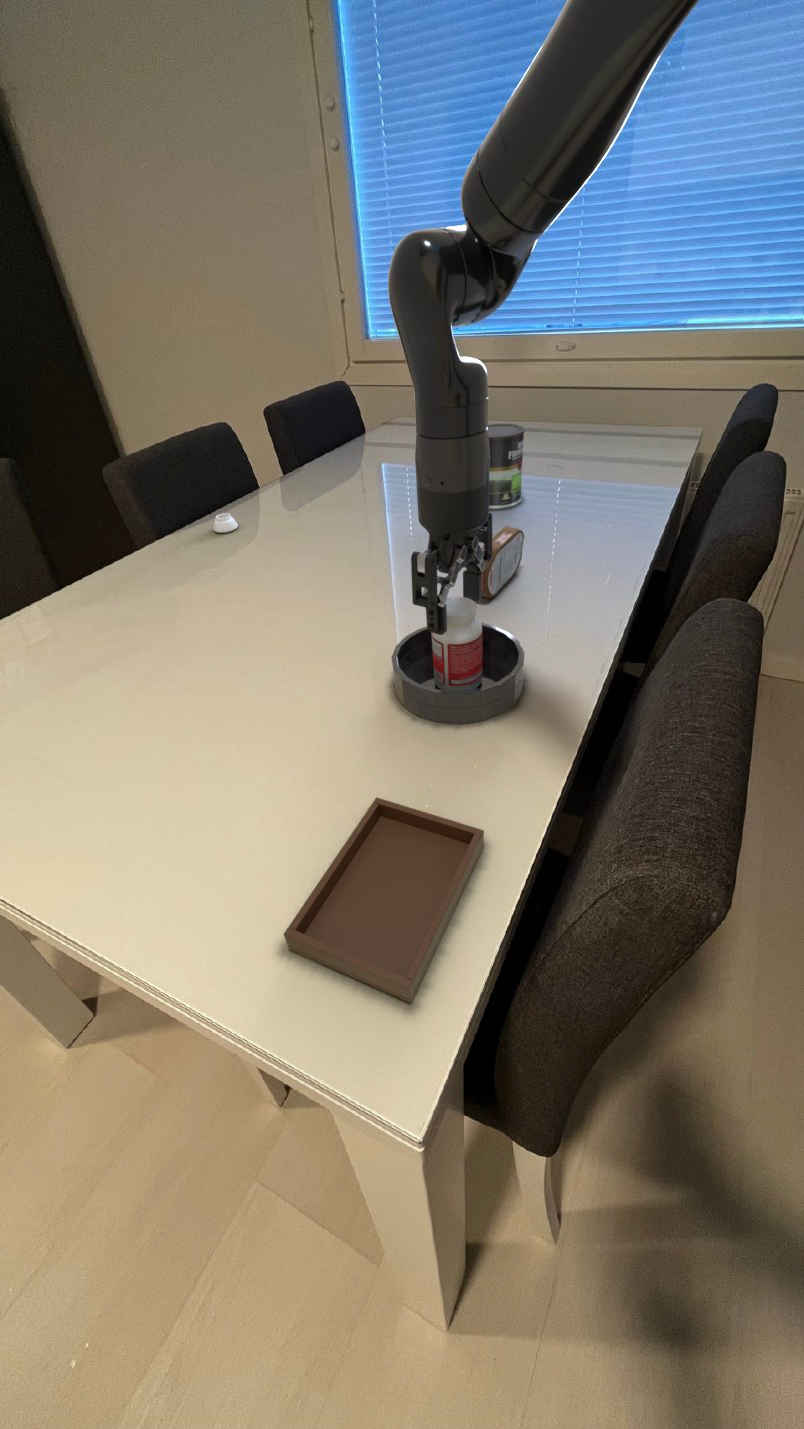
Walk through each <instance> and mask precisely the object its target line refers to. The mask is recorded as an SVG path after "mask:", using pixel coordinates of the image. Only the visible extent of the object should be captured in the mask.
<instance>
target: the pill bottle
mask: <svg viewBox="0 0 804 1429" xmlns="http://www.w3.org/2000/svg"><path fill="white" fill-rule="evenodd" d="M445 604H446V615H447V631H446V632H445V633H444V634H443V635H439V634H435V633H432V632H431V635H432V650H433V666H434V679H435V683H436V685H437V687H438V688H440V689H441V690H453V691H462V690H470V689H476V688H477V687H478V686H479V685H480V683H481V681H482V625H481V623H482V622H481V621H480V619H479V618H477V603H476V602H474V601H473V600H471V599H469V598H466V597H463V596H452V597H447V599H446V603H445Z"/></svg>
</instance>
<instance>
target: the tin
mask: <svg viewBox="0 0 804 1429" xmlns="http://www.w3.org/2000/svg"><path fill="white" fill-rule="evenodd" d="M524 540H525V534H524V532H523V530H522V529H520V528H516V527H512V526H509V525H505V526H503V527H502V528H501V529H500V530H499V531H498V532H496V534H494V535H492V559H491V560H490V561H486V562H485V564H486V566H485V570H484V571H483V572H482V597H486V598H493V597H495V596H496V595H497V594H499V592H500V591H501V590H502V589H503V588H504V587H505V585H507V584H508V583H509V581H510V580H511V579H512V578H513V577H515V575H516V573H517V571H518V569H519V567H520V563H521V562H522V557H523V547H524ZM481 549H482V550H484V544H483V545H482V547H481Z"/></svg>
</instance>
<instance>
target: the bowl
mask: <svg viewBox="0 0 804 1429" xmlns="http://www.w3.org/2000/svg"><path fill="white" fill-rule="evenodd" d="M481 625H482V681H481V683H480V685H479V686H478V687H477V688H476V689H470V690H462V691H453V690H441V689H440V688H438V687H437V685H436V683H435V679H434V666H433V650H432V635H431V632H430V631H429V630H428V628H427V626H424V627H421V628H418V629H416V630H414V631H412V632H411V633H409V634H407V635H406V636H404V637H403V638H402V639H401V640H400V641H399V642H398V643H397V644H396V645H395V648H394V650H393V652H392V655H391V665H392V673H393V684H394V692H395V696H396V697H397V698H398V701H399V702H400V704H401V705H402V706H403V707H404V708H405V709H406V710H408V711H409V713H412V714H414V715H415V716H417V717H419V718H422V719H424V720H426V721H427V720H428V721H430V722H435V723H441V724H449V725H450V724H451V725H461V724H473V723H478V722H483V721H486V720H489V719H493V718H494V717H497V716H500V715H501V714H503V713H504V712H506V711H507V710H509V709H510V708H511V707H512V706H513V705H514V704H516V702H517V701H518V700H519V698H520V696H521V694H522V692H523V687H524V686H523V684H524V673H525V672H524V670H525V669H524V668H525V656H526V655H525V651H524V648H523V646H522V644H521V642H520V640H519V639H517V638H516V637H515V636H513V635H512V634H511V633H510V632H509V631H507V630H504V629H503V628H500V627H497V626H496V625H493V624H488V623H483V622H481Z"/></svg>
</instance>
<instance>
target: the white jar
mask: <svg viewBox="0 0 804 1429" xmlns="http://www.w3.org/2000/svg"><path fill="white" fill-rule="evenodd" d="M214 517H215V518H214V522H213V526H212V529H213V531H214V532H216V533H218V534H219V533H221V534H223V533H230V532H232V531H234V530H236V529H237V528H238V526H239V524H238V522H237V521H236V520H235V519H234V517H232V516H231V514H230V513H229V512H225V513H224V512H222V513H219V514H216V516H214Z"/></svg>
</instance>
